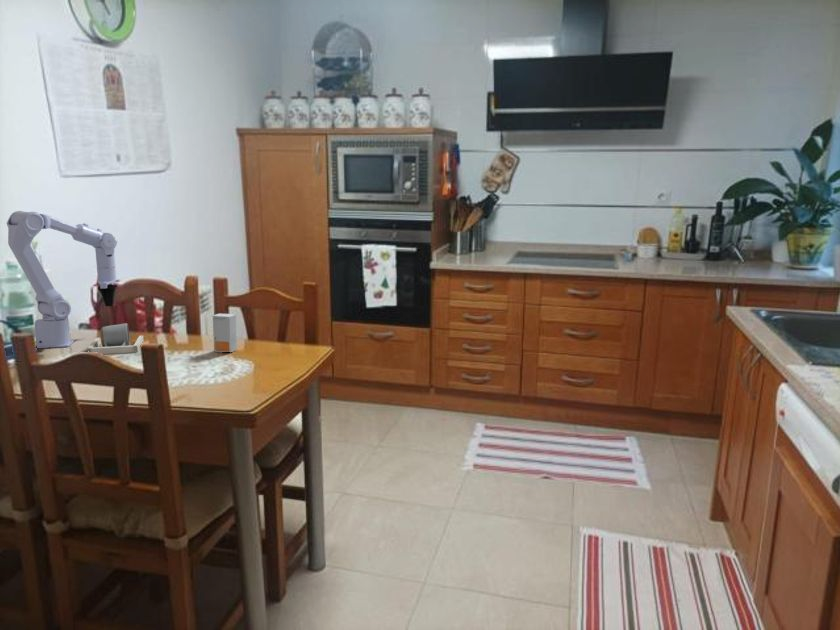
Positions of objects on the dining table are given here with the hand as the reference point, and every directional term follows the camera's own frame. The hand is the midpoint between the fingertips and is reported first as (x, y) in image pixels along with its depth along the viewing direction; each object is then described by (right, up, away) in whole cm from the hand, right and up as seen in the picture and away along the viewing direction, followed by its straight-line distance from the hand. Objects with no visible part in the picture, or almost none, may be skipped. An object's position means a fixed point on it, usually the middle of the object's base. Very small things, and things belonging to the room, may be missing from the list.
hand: (109, 306), depth 221 cm
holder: (+10, -14, -15) cm, 23 cm away
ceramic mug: (+11, -14, -16) cm, 24 cm away
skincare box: (+47, -15, -19) cm, 52 cm away
